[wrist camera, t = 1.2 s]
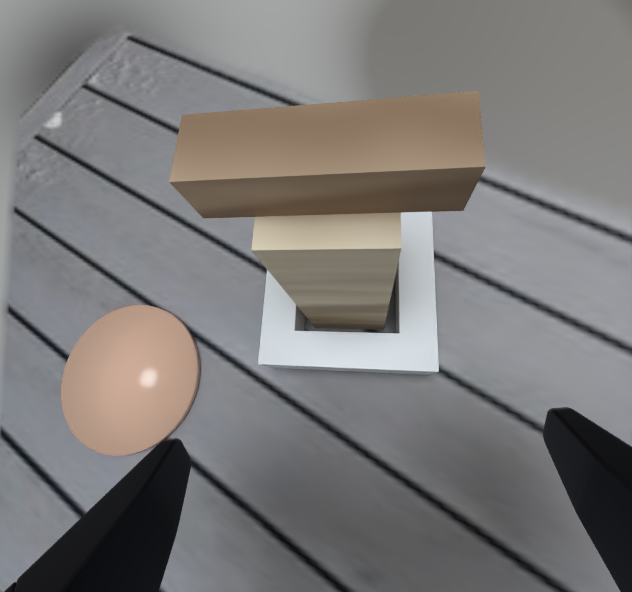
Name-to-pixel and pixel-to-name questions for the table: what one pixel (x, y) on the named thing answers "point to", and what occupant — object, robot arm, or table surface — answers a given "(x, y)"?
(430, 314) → the socket
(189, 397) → the peach flat disc
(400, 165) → the wooden block tower
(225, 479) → the table surface
